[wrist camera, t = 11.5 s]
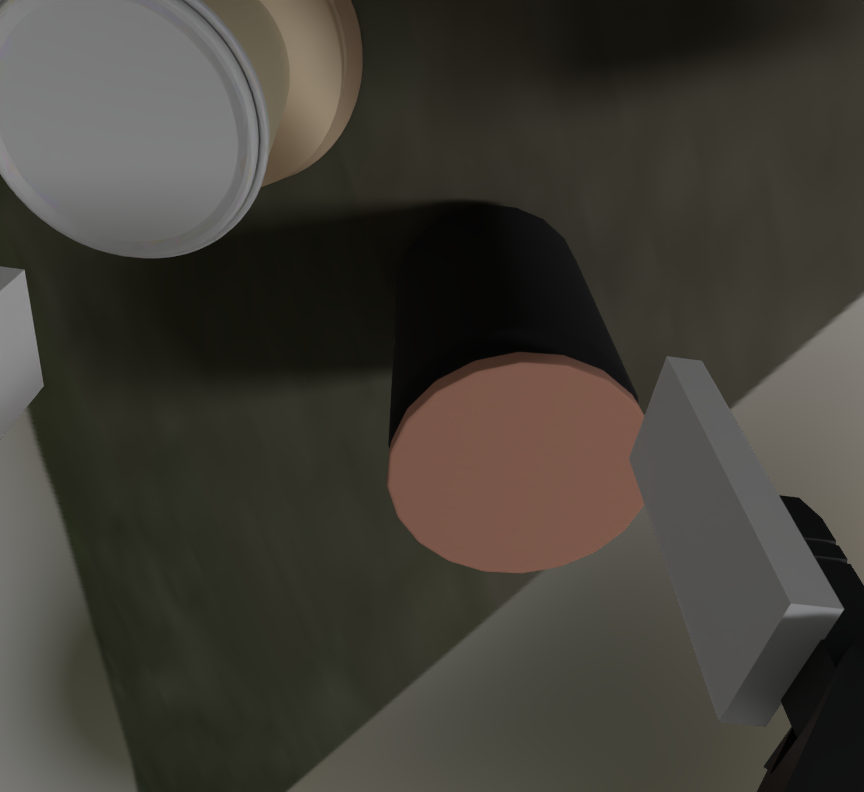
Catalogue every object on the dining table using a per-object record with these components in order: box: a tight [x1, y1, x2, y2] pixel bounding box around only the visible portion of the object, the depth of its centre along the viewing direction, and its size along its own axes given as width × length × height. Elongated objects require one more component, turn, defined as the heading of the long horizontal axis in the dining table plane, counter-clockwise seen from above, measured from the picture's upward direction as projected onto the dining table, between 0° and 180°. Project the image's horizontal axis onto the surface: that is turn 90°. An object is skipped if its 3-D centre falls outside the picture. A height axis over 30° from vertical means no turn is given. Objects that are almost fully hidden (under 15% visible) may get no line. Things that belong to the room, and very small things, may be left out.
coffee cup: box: [0, 0, 290, 258], centre depth 29 cm, size 9×9×12 cm
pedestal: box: [260, 0, 363, 187], centre depth 36 cm, size 13×13×4 cm
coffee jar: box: [387, 205, 644, 573], centre depth 37 cm, size 11×11×18 cm
